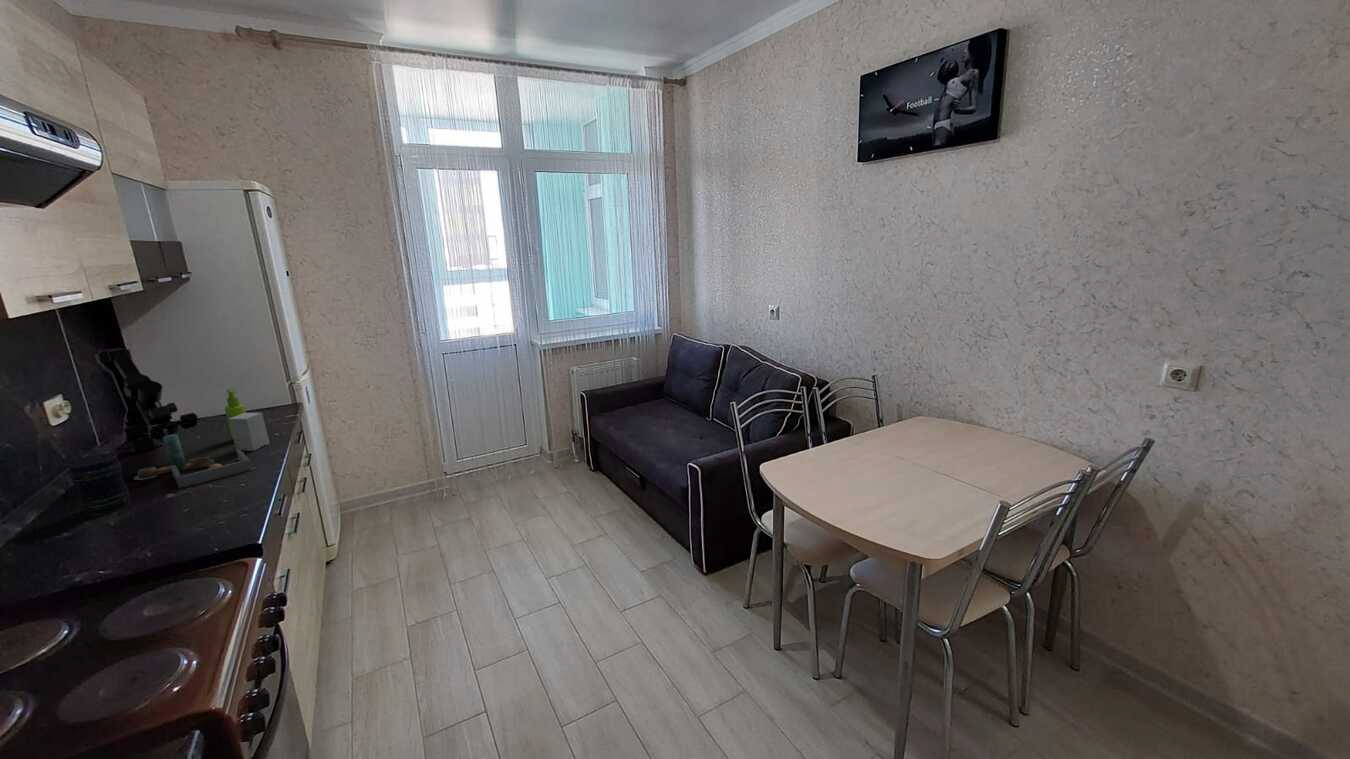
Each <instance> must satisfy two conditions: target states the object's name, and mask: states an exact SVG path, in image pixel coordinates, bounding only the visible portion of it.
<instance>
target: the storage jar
mask: <svg viewBox="0 0 1350 759" xmlns="http://www.w3.org/2000/svg"><path fill="white" fill-rule="evenodd" d="M119 461H120V460H119V459H118V454H117V453H115V452H113V453H112V452H111V453H108V452H107V453H106V452H105V453H100V454H94V455H90V456H86V457H82V458H78V459H76V460H73V461H71V462H70V463H68V465H67V466H68V470H69V472H70V477H71V479H72V482H73V484H74V485H75V486H76V490H77V492H78V500H79V504H80V506H81V507H82V510H83V514H84V515H85V516H100V515H105V514H108V513H109V514H110V513H113V512H116V511H120V509H124V508H125V506H126V507H128V506H129V505H131V504H132V499H131V498H130V491H129V489H128V485H127V483H125V480H124V478H123V474H122V473H123V469H122V466H121V462H119ZM128 504H129V505H128Z"/></svg>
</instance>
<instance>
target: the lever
mask: <svg viewBox="0 0 1350 759" xmlns="http://www.w3.org/2000/svg"><path fill="white" fill-rule="evenodd" d="M163 439H164V443H165V444H164V443H163V444H164V445H165V449H166V454H167V457H168V459H169V463H170V466H163V467H158V468H157V467H156V466H148V467H144V468H141V469H138V470H137V471H136V472H137V476H138V477H139V478H146V477H150V476H153V475H156V474H162V473H163V474H166V473H167V474H168V473H172V470H171V466H173V465H176V467H177V469H178V471H179V472H182V471H185V470H188V469H191V470H196V469H200V468H201V469H202V468H207V467H208V468H209V467H210V466H211V465H213V464H215V459H214V458H210V456H204V457H199V458H194V459H193V458H192V459H189V462H187V463H186V461H185V456H184V452H183V450H182V445H181V442H180V439H179V435H178V433H175V434H172V435H168V436H165V437H163ZM163 474H162V475H163Z"/></svg>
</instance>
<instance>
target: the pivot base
mask: <svg viewBox="0 0 1350 759" xmlns="http://www.w3.org/2000/svg"><path fill="white" fill-rule="evenodd" d="M157 476H158V477H160V476H161V474H156V475H153V476H150V477H146V478H139V477H138V475H136V476H134V477H133V481H135V480H142V481H147V480H146V479H148V480H151V479H150V478H152V479H155V478H157ZM154 477H155V478H154Z"/></svg>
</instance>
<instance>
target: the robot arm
mask: <svg viewBox="0 0 1350 759" xmlns="http://www.w3.org/2000/svg"><path fill="white" fill-rule="evenodd" d="M94 358H95V360H96V362H97V364H99V365H100V367H101V369H102V370H103V371H105V372H106V373H108V374H109V375H110V376H111V377H112V379H113V382H114V385H115V387H116V389H117V391H118V394H119V396H120V398H121V401H122V404H123V406H124V408H125V410H126V412H125V415H124V417H123V421H124V422H123V427H122V428H123V430H122V438H123V440H124V442H125V443H131V444H132V448H133V449H132V450H130V453H131V452H133V453H138V452H137V451H148V452H151V451H153V450H152V449H154V450H155V448H156V447H158V446H160V444H161V445H162V446H163V444H164V445H165V443H164V439H163V437H165V436H168V435H172V434H178V430H179V426H180V428H182V429H184V430H187V429H191V428H195V427H197V426H198V419H199V417H198V415H197V413H195V412H190V413H185V414H181V415H180V418H179V419H175V420H172V419H173V417H172V415H173V413H177V412H178V407H177V405H176V404H175V402H169V403H167V404H166V405H163V404H162V403H161V399H162V393H163V392H162V391H163V385H162V384H161V383H160V382H158V381H155V380H151V378H150V377H149V376H148V375H145V374H142V373H141V372H140V370H139V369H138V366H136V363H134V361H133V356H132V353H131V351H130V349H127V348H123V347H117V348H109V349H103V350H98V353H96V354H94ZM164 430H166V432H165V431H164ZM158 442H160V443H158ZM160 447H161V446H160ZM158 448H159V447H158ZM156 449H157V448H156ZM150 450H151V451H150Z"/></svg>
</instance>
